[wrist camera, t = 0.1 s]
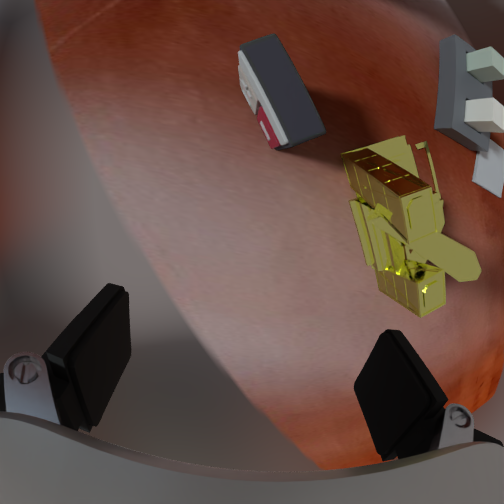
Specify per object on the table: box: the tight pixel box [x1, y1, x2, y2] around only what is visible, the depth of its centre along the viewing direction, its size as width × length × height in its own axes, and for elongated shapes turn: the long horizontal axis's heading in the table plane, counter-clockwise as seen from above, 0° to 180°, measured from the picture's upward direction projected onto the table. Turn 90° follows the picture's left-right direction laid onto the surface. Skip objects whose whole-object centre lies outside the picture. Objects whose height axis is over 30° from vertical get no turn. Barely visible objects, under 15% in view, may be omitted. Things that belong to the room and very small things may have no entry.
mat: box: [472, 139, 504, 198], centre depth 36 cm, size 10×10×1 cm
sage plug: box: [466, 47, 504, 83], centre depth 24 cm, size 4×4×10 cm
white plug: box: [464, 98, 504, 133], centre depth 27 cm, size 4×4×10 cm
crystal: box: [341, 135, 482, 318], centre depth 32 cm, size 18×25×16 cm
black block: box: [238, 34, 326, 150], centre depth 28 cm, size 11×4×15 cm, turn 25°
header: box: [434, 34, 492, 152], centre depth 29 cm, size 19×10×5 cm, turn 169°
